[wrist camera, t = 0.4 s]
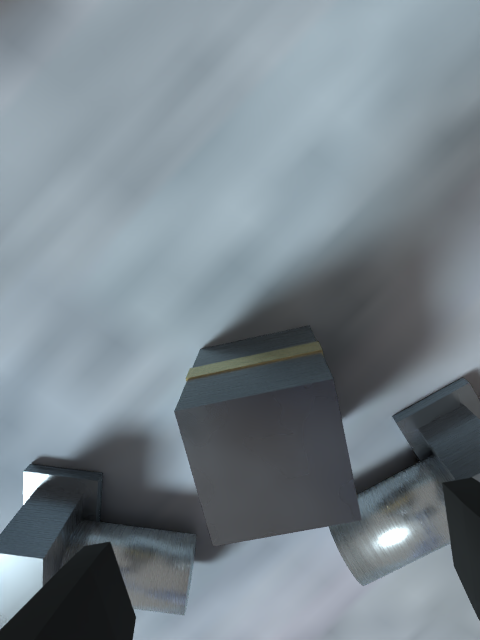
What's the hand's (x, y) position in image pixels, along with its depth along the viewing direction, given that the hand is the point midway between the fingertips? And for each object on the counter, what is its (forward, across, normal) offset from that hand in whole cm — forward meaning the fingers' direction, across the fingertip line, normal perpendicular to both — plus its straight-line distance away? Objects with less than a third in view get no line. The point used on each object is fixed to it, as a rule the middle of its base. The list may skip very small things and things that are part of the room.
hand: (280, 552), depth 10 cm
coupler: (+10, 0, 0) cm, 10 cm away
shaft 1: (+9, +8, +6) cm, 14 cm away
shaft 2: (+9, -5, +6) cm, 12 cm away
